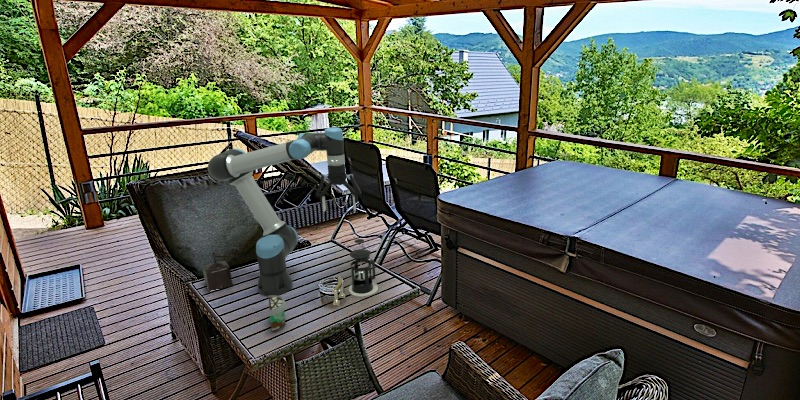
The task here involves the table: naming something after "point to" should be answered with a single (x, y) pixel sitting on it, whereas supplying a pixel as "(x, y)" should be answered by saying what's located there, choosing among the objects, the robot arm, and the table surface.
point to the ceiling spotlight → (341, 295)
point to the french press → (362, 270)
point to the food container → (276, 312)
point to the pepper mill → (219, 272)
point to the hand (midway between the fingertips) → (339, 210)
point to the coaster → (374, 290)
